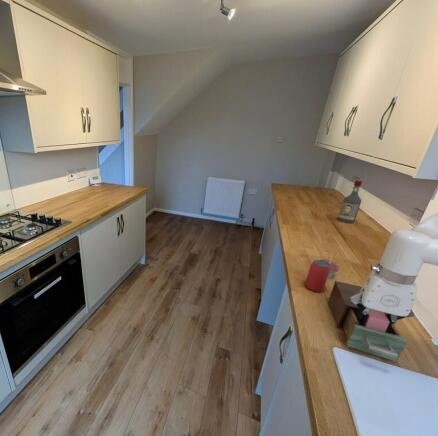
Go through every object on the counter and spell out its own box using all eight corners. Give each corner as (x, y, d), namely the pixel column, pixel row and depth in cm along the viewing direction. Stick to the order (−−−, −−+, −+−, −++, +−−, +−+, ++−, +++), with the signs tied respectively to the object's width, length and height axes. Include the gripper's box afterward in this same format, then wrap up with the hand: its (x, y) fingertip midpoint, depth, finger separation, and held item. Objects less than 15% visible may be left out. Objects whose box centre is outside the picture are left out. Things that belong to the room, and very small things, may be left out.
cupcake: (339, 281, 104) (348, 257, 100) (318, 278, 106) (325, 255, 102) (330, 270, 112) (337, 248, 108) (310, 268, 114) (317, 246, 110)
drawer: (404, 374, 63) (416, 353, 61) (351, 357, 68) (360, 337, 65) (378, 328, 78) (387, 309, 76) (336, 316, 83) (343, 298, 80)
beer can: (304, 281, 104) (311, 257, 100) (322, 286, 101) (330, 261, 97) (304, 289, 99) (312, 264, 95) (323, 294, 96) (332, 269, 91)
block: (378, 323, 72) (383, 312, 71) (384, 333, 69) (389, 322, 67) (360, 318, 74) (364, 307, 73) (364, 328, 71) (370, 316, 69)
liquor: (340, 217, 182) (352, 179, 172) (354, 221, 176) (368, 181, 165) (336, 220, 177) (348, 180, 166) (351, 224, 170) (365, 183, 160)
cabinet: (385, 341, 74) (397, 317, 71) (337, 327, 80) (345, 304, 76) (369, 312, 87) (378, 290, 83) (328, 301, 92) (335, 280, 89)
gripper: (360, 273, 65) (340, 324, 72) (447, 290, 58) (416, 345, 65) (352, 260, 72) (335, 308, 78) (429, 275, 65) (403, 326, 71)
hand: (372, 325), depth 71 cm, fingers closed on block, 4 cm apart
